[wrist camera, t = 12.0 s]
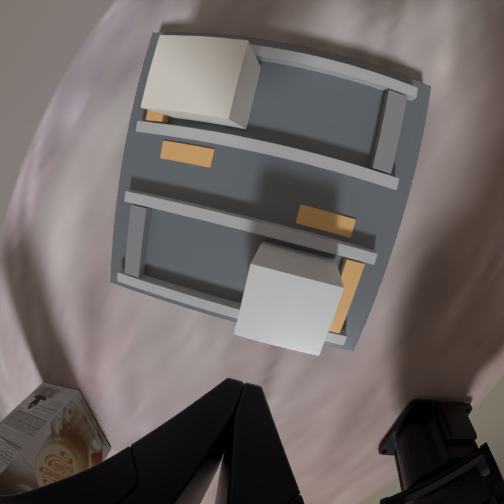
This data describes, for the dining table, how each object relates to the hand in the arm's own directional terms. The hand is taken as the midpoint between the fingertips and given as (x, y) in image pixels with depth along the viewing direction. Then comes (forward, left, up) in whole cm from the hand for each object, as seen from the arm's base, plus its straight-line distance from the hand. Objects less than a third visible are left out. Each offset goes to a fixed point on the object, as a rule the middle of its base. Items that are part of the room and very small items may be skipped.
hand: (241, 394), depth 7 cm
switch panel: (+4, +2, -12) cm, 12 cm away
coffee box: (-23, +16, -12) cm, 31 cm away
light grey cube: (-1, -1, -10) cm, 10 cm away
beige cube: (+8, +5, -10) cm, 14 cm away
